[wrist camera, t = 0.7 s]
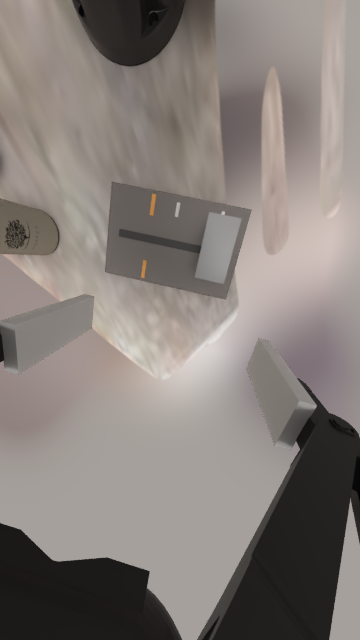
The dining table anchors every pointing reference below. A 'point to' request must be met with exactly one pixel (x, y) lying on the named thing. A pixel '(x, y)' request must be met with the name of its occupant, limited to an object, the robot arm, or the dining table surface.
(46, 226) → the travel mug
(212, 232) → the fader
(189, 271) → the console
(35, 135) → the dining table surface
